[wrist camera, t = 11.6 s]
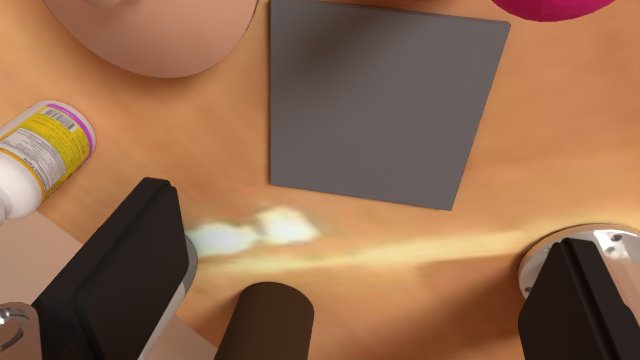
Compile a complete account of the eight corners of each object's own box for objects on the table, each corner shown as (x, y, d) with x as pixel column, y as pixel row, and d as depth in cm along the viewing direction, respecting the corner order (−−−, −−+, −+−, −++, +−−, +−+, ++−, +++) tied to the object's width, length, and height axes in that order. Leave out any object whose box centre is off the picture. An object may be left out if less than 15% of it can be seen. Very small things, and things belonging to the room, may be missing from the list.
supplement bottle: (51, 157, 46) (-51, 245, 35) (19, 97, 42) (-105, 177, 32) (109, 157, 44) (22, 248, 34) (83, 96, 41) (-25, 178, 30)
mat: (450, 205, 42) (451, 210, 41) (272, 179, 43) (270, 184, 42) (508, 21, 31) (510, 25, 31) (273, -5, 33) (270, -2, 32)
